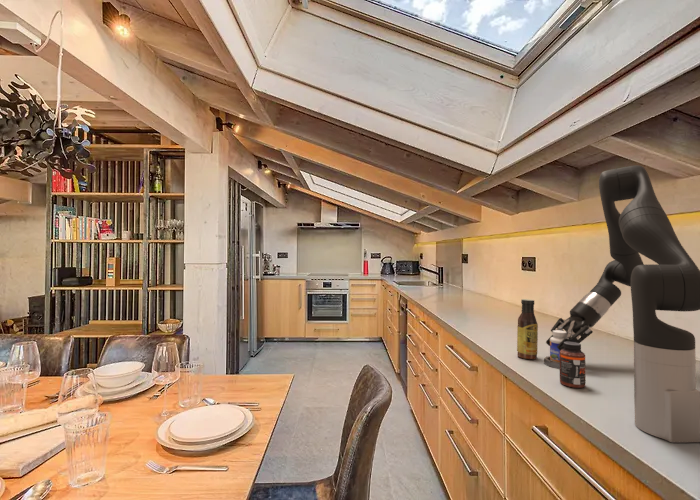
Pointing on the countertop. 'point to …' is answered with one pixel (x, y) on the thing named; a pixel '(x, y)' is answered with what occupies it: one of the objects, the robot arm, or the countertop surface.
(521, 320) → the sauce bottle
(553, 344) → the pill bottle
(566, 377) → the supplement bottle
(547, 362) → the locating collar
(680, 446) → the countertop surface
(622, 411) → the countertop surface
